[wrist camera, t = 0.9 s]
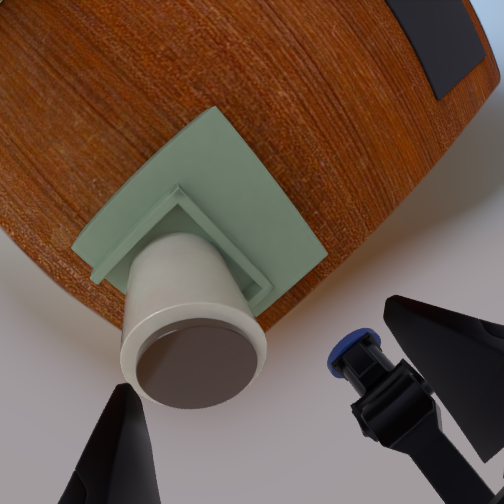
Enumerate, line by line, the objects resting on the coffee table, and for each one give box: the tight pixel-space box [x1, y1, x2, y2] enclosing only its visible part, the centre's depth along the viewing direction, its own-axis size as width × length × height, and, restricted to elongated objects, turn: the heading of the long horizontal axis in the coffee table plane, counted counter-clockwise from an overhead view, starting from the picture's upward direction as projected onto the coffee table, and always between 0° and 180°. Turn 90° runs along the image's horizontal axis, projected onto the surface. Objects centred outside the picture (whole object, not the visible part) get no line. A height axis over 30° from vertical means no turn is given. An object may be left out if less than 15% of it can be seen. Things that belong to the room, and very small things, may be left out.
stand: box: [71, 106, 328, 317], centre depth 17 cm, size 12×11×4 cm
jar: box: [120, 232, 268, 409], centre depth 14 cm, size 6×6×8 cm
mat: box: [385, 0, 486, 100], centre depth 17 cm, size 11×15×1 cm
